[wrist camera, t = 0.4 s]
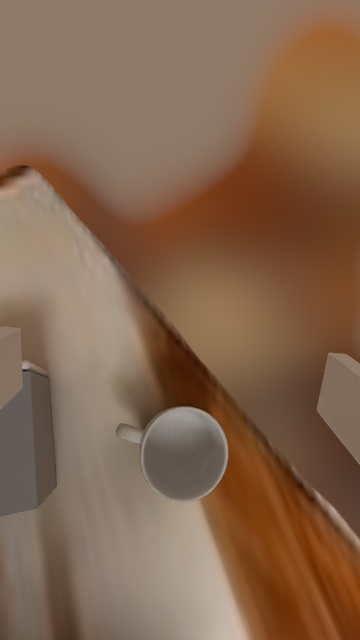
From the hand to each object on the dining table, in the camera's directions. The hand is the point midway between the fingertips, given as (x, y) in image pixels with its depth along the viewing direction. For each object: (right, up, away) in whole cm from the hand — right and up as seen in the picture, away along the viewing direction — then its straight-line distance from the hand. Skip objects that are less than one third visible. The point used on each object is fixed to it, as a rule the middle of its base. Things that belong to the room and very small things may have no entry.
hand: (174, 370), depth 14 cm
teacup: (-2, -15, +33) cm, 36 cm away
